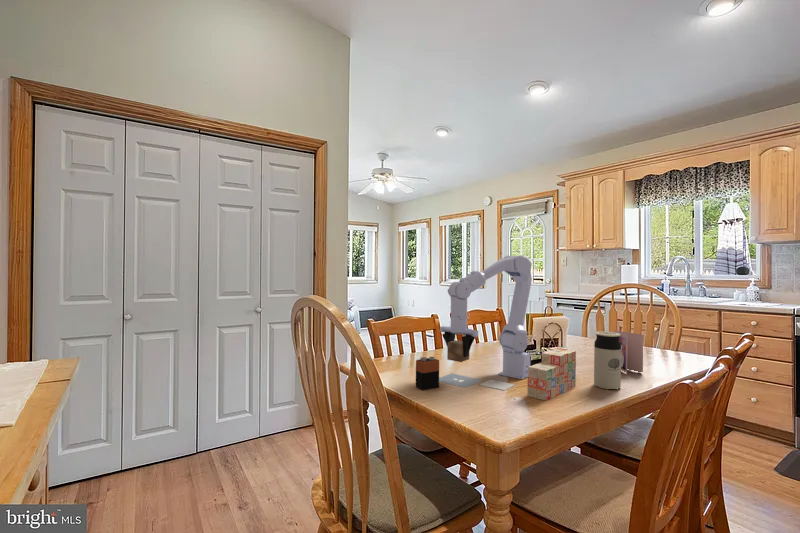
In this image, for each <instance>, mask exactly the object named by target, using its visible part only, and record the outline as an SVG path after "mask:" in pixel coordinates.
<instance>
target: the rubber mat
mask: <svg viewBox="0 0 800 533" xmlns="http://www.w3.org/2000/svg"><path fill="white" fill-rule="evenodd" d="M479 386H481V387H486V388H491V389H495V390H498V391H499V390H500V391H503V392H504V391H507V390H509V389H511V388H513V387H515V386H516V384H514V383H510V382H504V381H499V380H495V379H489V380H487V381H484V382H482V383H480V384H479Z"/></svg>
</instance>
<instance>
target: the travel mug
mask: <svg viewBox="0 0 800 533" xmlns="http://www.w3.org/2000/svg"><path fill="white" fill-rule="evenodd" d="M595 336H596V339H595V340H594V342H593V343H594V344H593V345H594V346H593V349H594V354H593V355H594V358H593V362H594V363H593V385H594V386H595V387H597V386H598V387H597V388H599V387H601V388H600V389H602V388H606V389H605V390H608V389H617V388H620V387H622V386H621V381H622V379H621V376H622V375H621V373H622V372H621V343H620V341H619V337H620V334H619V333H614V332H612V331H596V332H595ZM620 389H621V388H620ZM617 390H618V389H617Z"/></svg>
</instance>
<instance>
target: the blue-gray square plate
mask: <svg viewBox="0 0 800 533" xmlns="http://www.w3.org/2000/svg"><path fill="white" fill-rule="evenodd" d="M482 381H484V379H479V378H474V377H471V376H466V375H462V374H456V373H452V372H451V373H449V374H447V375H444V376H441V377H440V376H439V383H442V384H443V383H444V384H447V385H451V386H455V387H459V388H463V389H466V388H468V387H471V386H473V385H475V384H477V383H480V382H482Z"/></svg>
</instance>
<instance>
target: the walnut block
mask: <svg viewBox="0 0 800 533" xmlns="http://www.w3.org/2000/svg"><path fill="white" fill-rule="evenodd" d="M446 348H447V347H446ZM446 350H447V351H446V352H447V354H446V355H447V357H446V358H447V359H446V360H447V361H453V362H457V363H462V362H463V363H464V362H465V361H469V360H470V354H469V355H468V356H467V357H464V355H463V341H462V340H458V339H457V340H456V339H455V340H454V341H451V342H448V348H447V349H446Z"/></svg>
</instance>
